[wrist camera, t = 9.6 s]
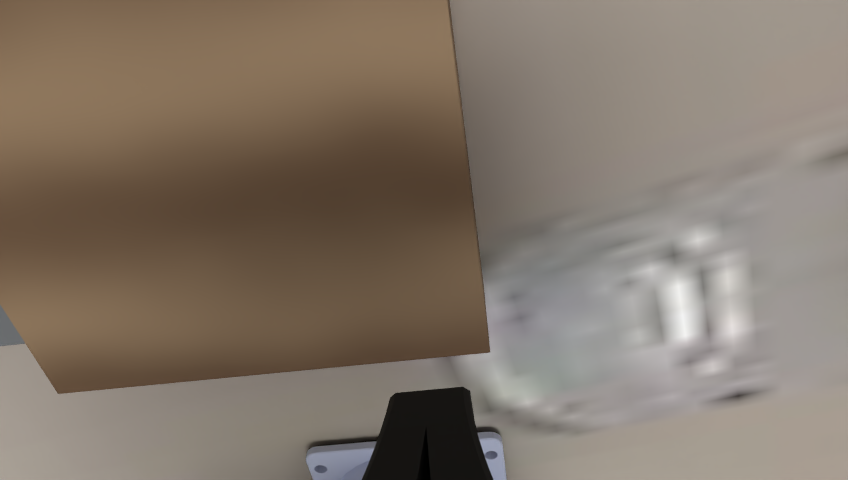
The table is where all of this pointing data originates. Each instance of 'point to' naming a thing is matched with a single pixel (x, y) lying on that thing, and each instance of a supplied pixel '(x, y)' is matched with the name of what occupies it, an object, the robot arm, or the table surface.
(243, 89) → the deck
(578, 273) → the table surface
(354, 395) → the table surface
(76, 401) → the table surface
